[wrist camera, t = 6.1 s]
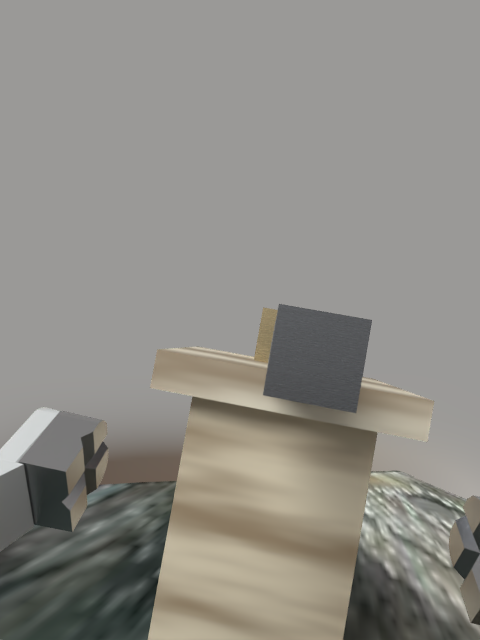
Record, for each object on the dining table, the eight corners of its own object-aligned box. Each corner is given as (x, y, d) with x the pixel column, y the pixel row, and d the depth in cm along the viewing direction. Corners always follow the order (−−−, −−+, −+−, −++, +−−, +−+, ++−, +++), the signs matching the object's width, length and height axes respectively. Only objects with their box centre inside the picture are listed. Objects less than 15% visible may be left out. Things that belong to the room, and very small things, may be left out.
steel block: (392, 420, 11) (415, 285, 11) (228, 388, 11) (252, 258, 12) (311, 367, 33) (319, 322, 33) (256, 357, 33) (264, 312, 33)
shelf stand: (344, 953, 20) (434, 401, 21) (59, 869, 21) (157, 349, 22) (316, 722, 32) (374, 379, 33) (136, 676, 33) (197, 346, 34)
